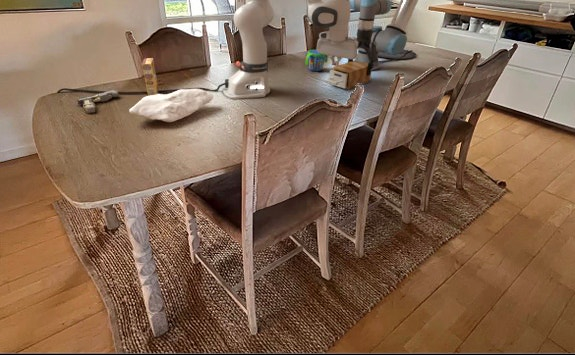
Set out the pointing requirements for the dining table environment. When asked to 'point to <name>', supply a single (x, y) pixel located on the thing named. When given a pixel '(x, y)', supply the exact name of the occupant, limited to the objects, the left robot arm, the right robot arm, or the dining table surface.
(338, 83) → the drawer
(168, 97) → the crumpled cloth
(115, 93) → the handgun
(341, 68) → the cabinet
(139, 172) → the dining table surface
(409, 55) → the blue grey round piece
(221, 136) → the dining table surface
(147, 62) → the candy box
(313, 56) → the snack cup
